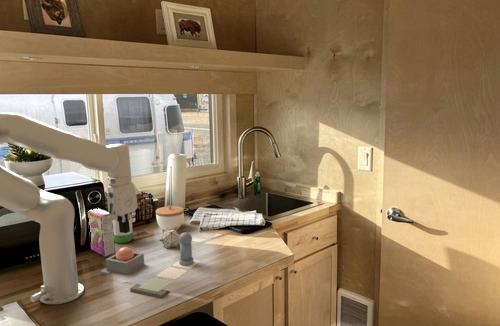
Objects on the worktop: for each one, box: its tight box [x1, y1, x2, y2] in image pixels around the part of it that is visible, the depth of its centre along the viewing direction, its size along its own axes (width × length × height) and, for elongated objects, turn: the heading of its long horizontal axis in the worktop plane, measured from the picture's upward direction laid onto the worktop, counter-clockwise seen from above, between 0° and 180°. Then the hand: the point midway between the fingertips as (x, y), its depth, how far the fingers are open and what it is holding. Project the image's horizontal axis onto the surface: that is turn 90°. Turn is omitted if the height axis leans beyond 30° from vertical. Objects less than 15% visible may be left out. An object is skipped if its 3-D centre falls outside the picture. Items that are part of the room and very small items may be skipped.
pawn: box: [178, 231, 194, 266], centre depth 147 cm, size 5×5×11 cm
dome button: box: [115, 246, 135, 262], centre depth 145 cm, size 6×6×6 cm
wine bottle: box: [113, 214, 134, 244], centre depth 172 cm, size 8×8×30 cm
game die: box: [159, 228, 180, 249], centre depth 164 cm, size 9×8×10 cm
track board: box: [129, 258, 201, 299], centre depth 140 cm, size 28×12×1 cm, turn 156°
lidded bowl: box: [155, 205, 185, 232], centre depth 188 cm, size 13×13×11 cm
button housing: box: [99, 251, 145, 276], centre depth 145 cm, size 12×12×5 cm
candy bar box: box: [87, 207, 116, 257], centre depth 161 cm, size 11×5×16 cm, turn 47°
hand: (124, 231), depth 144 cm, fingers closed
